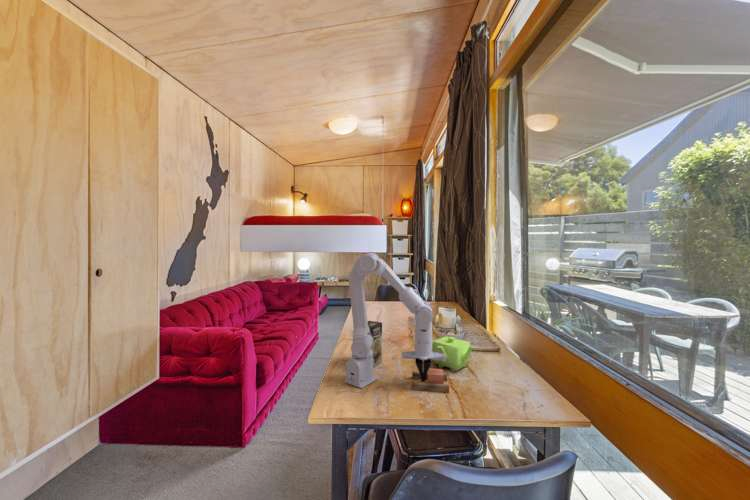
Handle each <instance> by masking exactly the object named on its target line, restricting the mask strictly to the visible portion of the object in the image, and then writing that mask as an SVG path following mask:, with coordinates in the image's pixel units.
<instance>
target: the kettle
mask: <svg viewBox="0 0 750 500" xmlns="http://www.w3.org/2000/svg"><path fill="white" fill-rule="evenodd" d="M470 344H471V342H470V341H467V340H463V339H458V338H456V337H453V336H447V335H446V336H443V337H440V338H438V339H435V340H433V339H432V352H435V353H441V354H445V356H446V359H445V361H441V360H432V363H433V364H437V367H438V368H439V369H442V368H444V367H446V368H449V369H450V372H453V373H456V372H457V371H459V370H460V369H462V368H464V367H465V366H467V365H469V364H470V357H471V354H472V351H473V350H474V349H477V346H473V345H470Z"/></svg>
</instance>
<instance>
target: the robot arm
mask: <svg viewBox="0 0 750 500" xmlns="http://www.w3.org/2000/svg"><path fill="white" fill-rule="evenodd" d="M372 272H374V273H373V274H374V275H377V276H380V277H382V278H384V279H385V280H386V281H387V282H388V283H389V285H390V286H391V287H392V288H393V289H394V290H395V291H396V292H397V293H398V299H399V301H400V302H401V303H402V304H403V305H404V306H405V307H406V308H407V310H408V311H409V312H410V313H411V314H414V320H415V327H414V350H410V351H401V359H402V360H405V359H409V360H410V359H411V360H415V362H414V363H415V366H416V367H417V370H418V372H419V373H420V377H421V379H420V381H421V382H420V383H426V380H425V378H426V374H427V372H428V369H429V368H430V367H431V365H432V361H433V360H441V361H445V359H446V356H445V354H441V353H435V352H433V347H432V340H433V327H432V326H433V322H432V321H433V320H434V315H433V310H432V307H431V306H430V304H429V303H428V302H427V301H426V300H424V299H423V298H422V297H421V296H420V295H419V294H418V290H417V289H416V288H413V287H411V286H406V285H405V284H404V283H403V282H402V280H401V279H400V278H399V276H398V275H397V274H396V273H395V272H394V271H393V269H392V268H391V267H390V266H389V264H388V263H387V262H385V260H384V259H383V258H380V257H379V255H378V254H377V252H372V251H369V252H366V253H363V254H362V255H360V256H359V257H358V258H357V259H356V260H355V261H354V265H353V267H352V269H351V271H350V272H349V274H348V287H349V298H350V305H351V315H352V316H351V317H352V323H353V331H352V332H353V333H352V343H351V346H350V350H351V357H350V358H349V359H348V360H347V361H346V363H345V379H343V383H346V384H349V385H351V386H354V387H356V388H359V389H363V388H365V387H366V386H368V385H369V384H371V383H372V382H375V381H376V380H378V379H379V376H376V375H374V368H373V352H372V350H371V346H372V345H373V337H372V335H371V333H370V329H369V326H368V321H369V320H368V314H367V313H368V312H367V304H366V295H365V294H366V293H365V285H364V281H365V279H366V278H367V277H368V275H369V274H371V273H372Z"/></svg>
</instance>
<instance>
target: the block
mask: <svg viewBox="0 0 750 500" xmlns="http://www.w3.org/2000/svg"><path fill="white" fill-rule="evenodd" d="M443 373H444V370H443V369H442V368H432V367H431V368H430V367H429V369H428V380H427V383H434V384H444V381H443Z"/></svg>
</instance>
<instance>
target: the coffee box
mask: <svg viewBox="0 0 750 500" xmlns="http://www.w3.org/2000/svg"><path fill="white" fill-rule="evenodd" d="M367 321H368V326H369V329H370V333H371V335H372V337H373V345H372V346H371V350H372V352H373V369H375V368H376V367H378V366H380V365H381V364H382V363H383V322H380V321H374V320H373V321H372V320H367Z"/></svg>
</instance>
